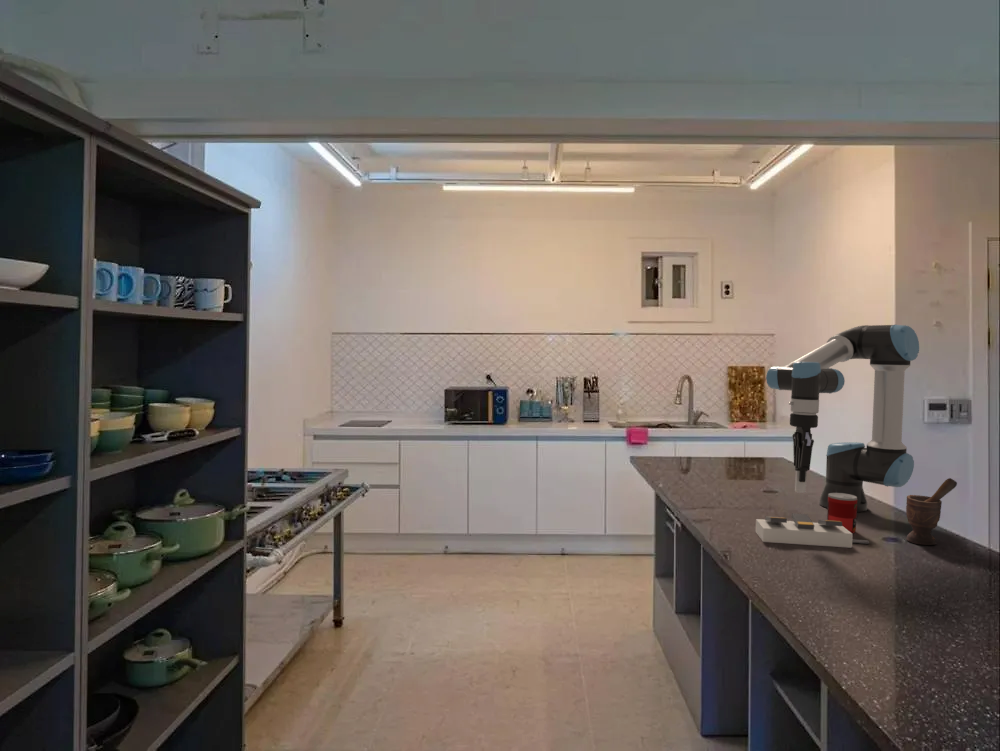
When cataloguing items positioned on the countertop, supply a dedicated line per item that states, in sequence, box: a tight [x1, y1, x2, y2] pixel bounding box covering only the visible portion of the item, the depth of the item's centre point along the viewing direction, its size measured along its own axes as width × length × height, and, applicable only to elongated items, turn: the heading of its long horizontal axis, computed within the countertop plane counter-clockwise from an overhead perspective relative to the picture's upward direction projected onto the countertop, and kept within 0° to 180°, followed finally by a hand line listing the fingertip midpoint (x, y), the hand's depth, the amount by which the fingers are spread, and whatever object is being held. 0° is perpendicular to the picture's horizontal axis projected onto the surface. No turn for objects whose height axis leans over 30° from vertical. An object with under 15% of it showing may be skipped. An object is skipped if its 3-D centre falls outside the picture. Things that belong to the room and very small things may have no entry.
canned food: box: [826, 493, 858, 534], centre depth 198 cm, size 8×8×11 cm
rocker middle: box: [791, 512, 814, 529], centre depth 188 cm, size 4×7×1 cm, turn 170°
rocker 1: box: [764, 516, 788, 523], centre depth 189 cm, size 4×7×1 cm, turn 170°
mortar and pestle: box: [905, 477, 958, 546], centre depth 186 cm, size 12×9×20 cm
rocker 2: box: [817, 519, 842, 526], centre depth 186 cm, size 4×7×1 cm, turn 170°
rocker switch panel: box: [755, 518, 870, 549], centre depth 187 cm, size 30×10×4 cm, turn 80°
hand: (800, 492), depth 190 cm, fingers closed
